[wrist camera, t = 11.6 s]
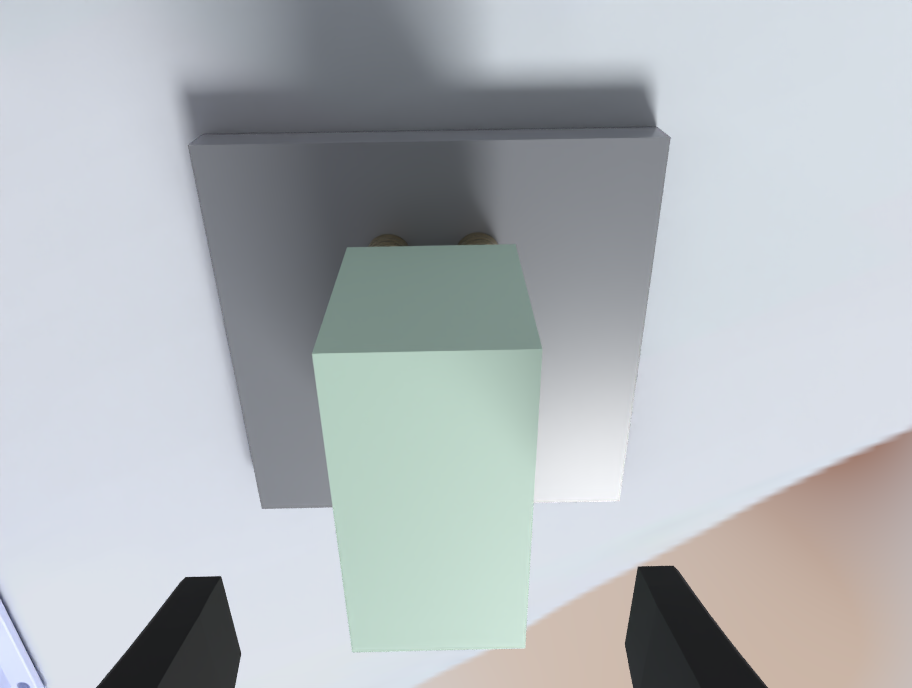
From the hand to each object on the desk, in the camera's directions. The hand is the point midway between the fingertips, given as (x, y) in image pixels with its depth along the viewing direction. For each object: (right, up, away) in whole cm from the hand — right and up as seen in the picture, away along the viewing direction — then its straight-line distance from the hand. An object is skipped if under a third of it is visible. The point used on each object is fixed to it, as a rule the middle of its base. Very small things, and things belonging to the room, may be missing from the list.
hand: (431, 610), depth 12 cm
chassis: (0, +5, +9) cm, 10 cm away
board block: (0, +4, +6) cm, 7 cm away
